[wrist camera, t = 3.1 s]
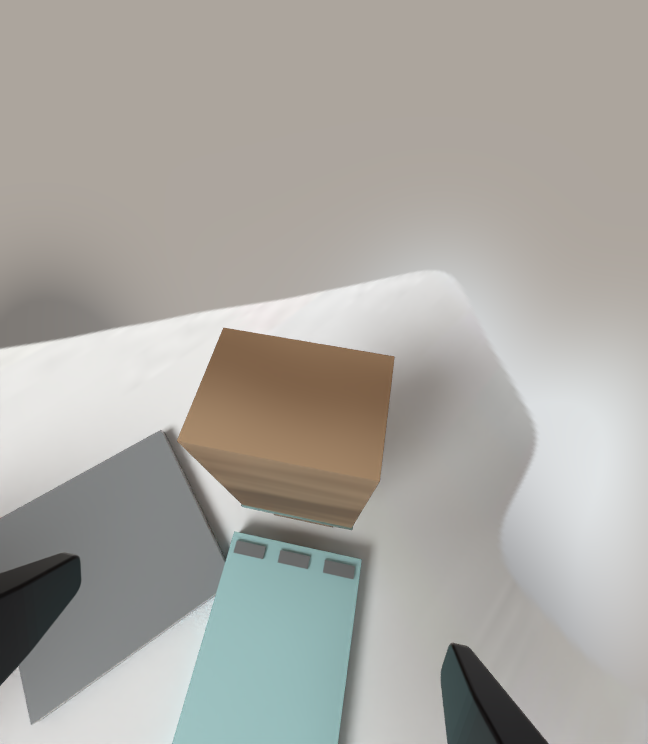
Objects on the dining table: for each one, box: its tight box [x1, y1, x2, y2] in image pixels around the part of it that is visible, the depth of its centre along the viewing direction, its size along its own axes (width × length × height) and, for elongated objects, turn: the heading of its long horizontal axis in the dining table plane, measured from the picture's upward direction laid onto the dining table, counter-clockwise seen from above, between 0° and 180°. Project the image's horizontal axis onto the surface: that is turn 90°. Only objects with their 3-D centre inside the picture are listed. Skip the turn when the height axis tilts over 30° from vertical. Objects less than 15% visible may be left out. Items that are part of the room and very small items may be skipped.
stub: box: [177, 328, 394, 530], centre depth 16 cm, size 4×5×14 cm
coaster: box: [0, 430, 226, 725], centre depth 20 cm, size 10×10×1 cm
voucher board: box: [172, 531, 362, 744], centre depth 17 cm, size 14×7×1 cm, turn 169°
